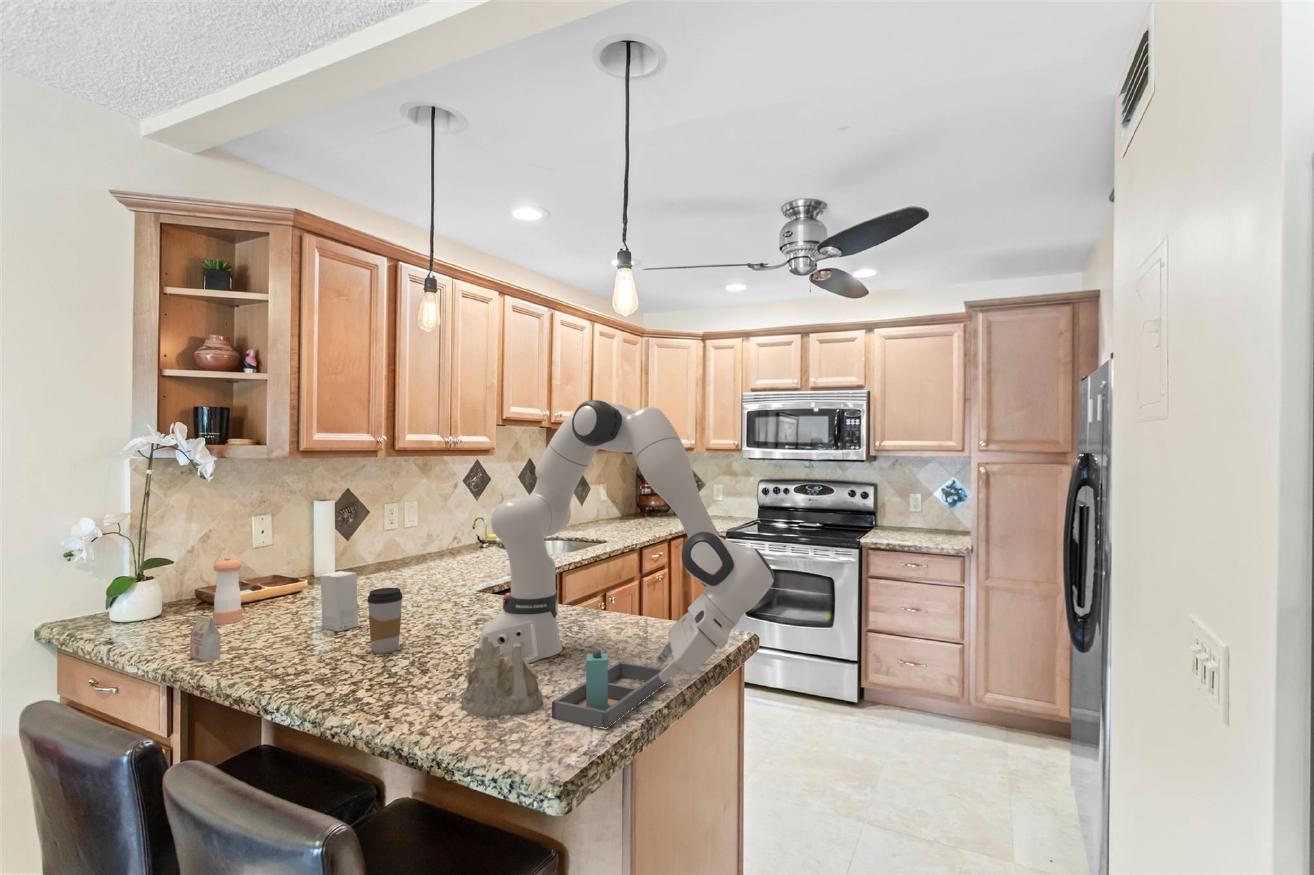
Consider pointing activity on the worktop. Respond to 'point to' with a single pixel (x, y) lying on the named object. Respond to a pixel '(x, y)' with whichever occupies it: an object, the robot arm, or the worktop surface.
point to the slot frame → (618, 696)
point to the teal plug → (597, 680)
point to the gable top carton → (204, 640)
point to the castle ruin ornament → (500, 683)
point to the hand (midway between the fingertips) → (659, 670)
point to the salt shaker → (227, 592)
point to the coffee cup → (385, 619)
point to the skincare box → (339, 601)
